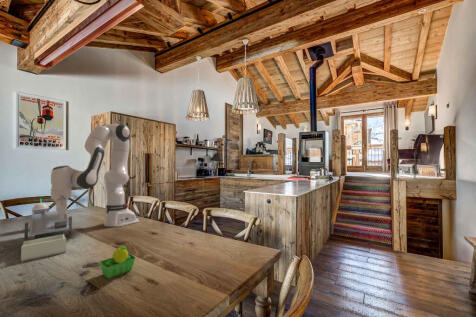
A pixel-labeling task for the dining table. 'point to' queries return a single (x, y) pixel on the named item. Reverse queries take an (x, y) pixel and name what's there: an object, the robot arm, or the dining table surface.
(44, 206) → the smoothie
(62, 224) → the seesaw lever
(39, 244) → the bin
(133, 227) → the dining table surface
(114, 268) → the fruit basket
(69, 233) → the fulcrum stand
